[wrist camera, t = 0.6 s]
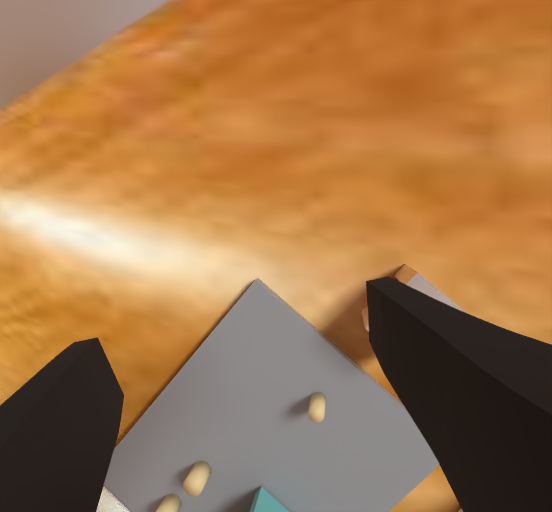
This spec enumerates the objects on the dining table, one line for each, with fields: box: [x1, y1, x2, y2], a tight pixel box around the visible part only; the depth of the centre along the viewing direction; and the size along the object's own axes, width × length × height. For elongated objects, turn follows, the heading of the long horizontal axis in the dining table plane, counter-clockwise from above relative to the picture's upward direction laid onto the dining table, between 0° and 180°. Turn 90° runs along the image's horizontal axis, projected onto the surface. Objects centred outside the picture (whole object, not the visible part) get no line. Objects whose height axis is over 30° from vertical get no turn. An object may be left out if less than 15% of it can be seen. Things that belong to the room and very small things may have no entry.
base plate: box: [104, 279, 440, 512], centre depth 30 cm, size 20×24×4 cm
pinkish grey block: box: [361, 264, 466, 332], centre depth 27 cm, size 4×5×5 cm
